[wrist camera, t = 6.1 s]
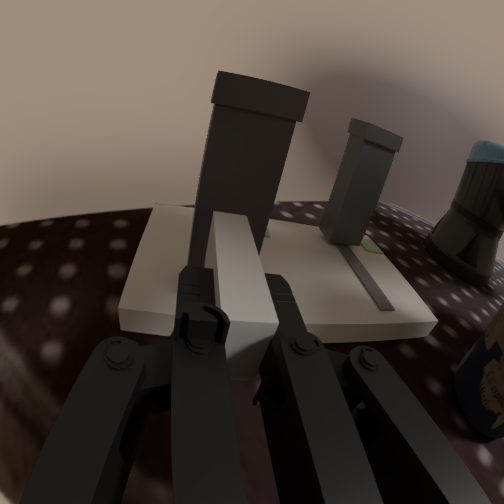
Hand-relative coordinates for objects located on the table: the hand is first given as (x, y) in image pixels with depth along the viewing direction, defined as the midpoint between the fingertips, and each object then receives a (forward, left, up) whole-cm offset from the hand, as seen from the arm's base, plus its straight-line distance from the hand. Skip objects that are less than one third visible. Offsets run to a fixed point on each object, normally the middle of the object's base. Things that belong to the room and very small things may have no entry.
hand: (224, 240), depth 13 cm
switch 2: (-15, -14, -5) cm, 21 cm away
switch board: (-8, -9, -8) cm, 14 cm away
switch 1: (-1, -4, -5) cm, 7 cm away
